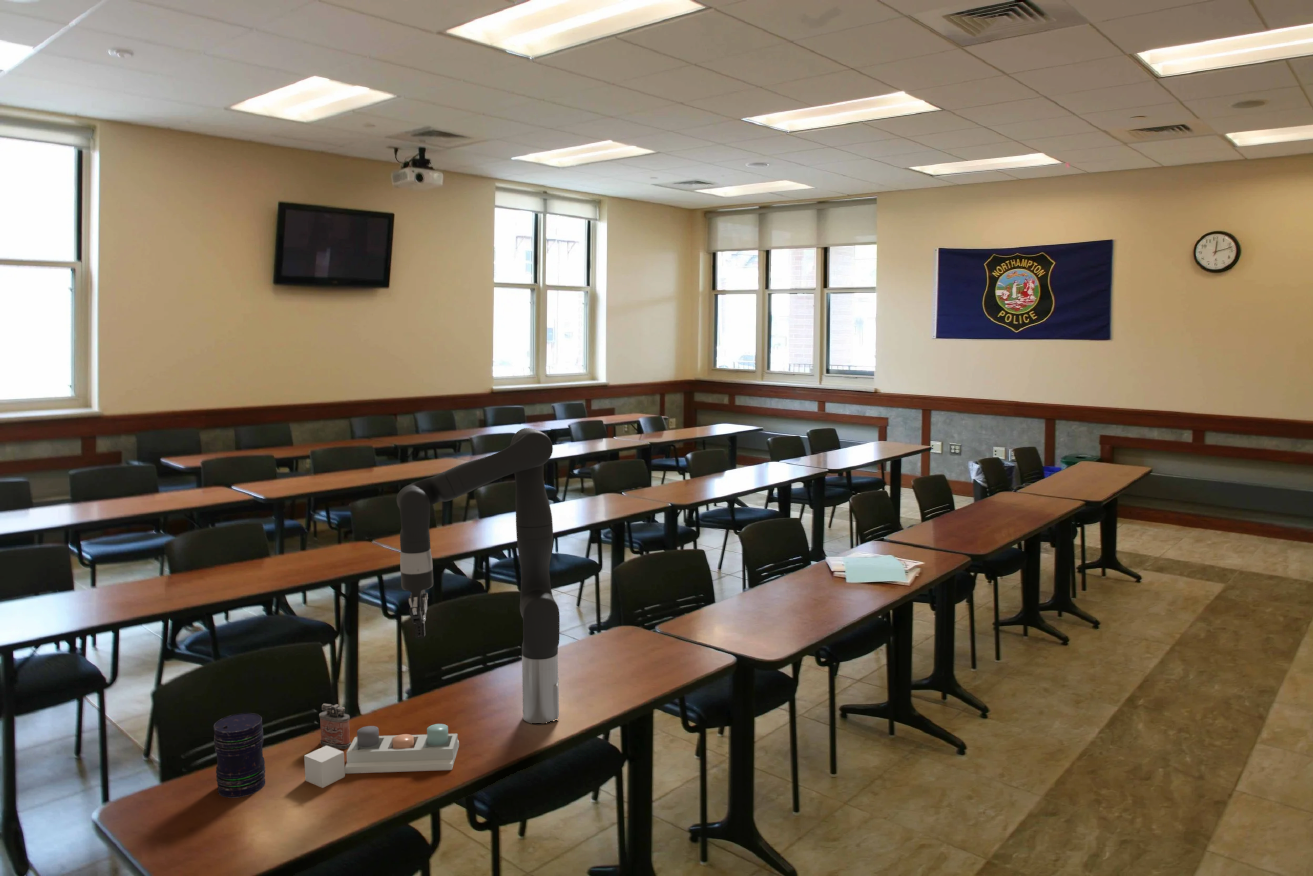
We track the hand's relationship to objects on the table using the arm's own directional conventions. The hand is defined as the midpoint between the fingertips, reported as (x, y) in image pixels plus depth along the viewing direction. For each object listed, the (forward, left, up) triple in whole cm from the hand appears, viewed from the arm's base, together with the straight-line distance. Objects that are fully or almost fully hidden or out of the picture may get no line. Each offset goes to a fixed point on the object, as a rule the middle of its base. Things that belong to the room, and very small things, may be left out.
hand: (420, 637), depth 226 cm
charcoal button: (+11, +12, -21) cm, 26 cm away
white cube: (+18, +20, -26) cm, 37 cm away
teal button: (-5, +12, -21) cm, 25 cm away
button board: (+3, +12, -26) cm, 28 cm away
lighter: (+21, +3, -26) cm, 33 cm away
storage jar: (+36, +22, -26) cm, 49 cm away
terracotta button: (+3, +12, -23) cm, 26 cm away
